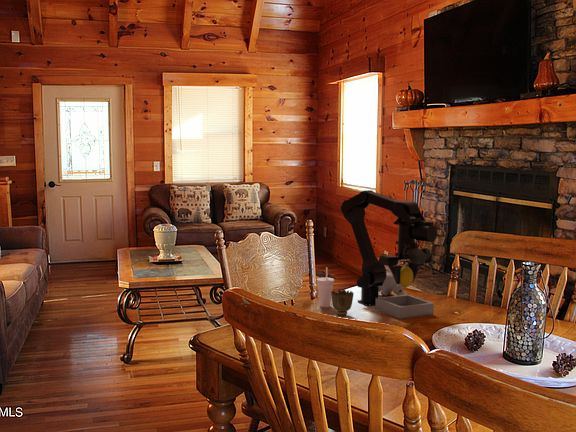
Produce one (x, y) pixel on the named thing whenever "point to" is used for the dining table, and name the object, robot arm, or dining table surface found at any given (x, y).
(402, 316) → the bin
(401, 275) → the lemon
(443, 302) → the dining table surface
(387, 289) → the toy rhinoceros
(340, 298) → the cup
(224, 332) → the dining table surface
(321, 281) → the smoothie
